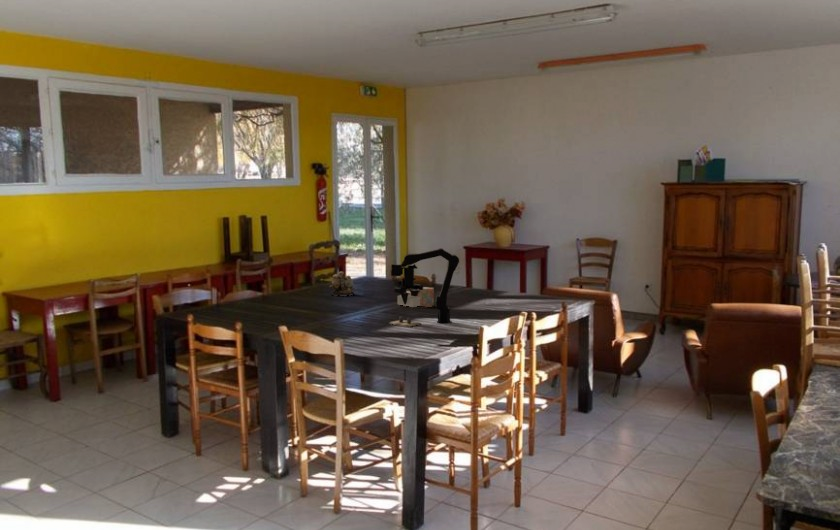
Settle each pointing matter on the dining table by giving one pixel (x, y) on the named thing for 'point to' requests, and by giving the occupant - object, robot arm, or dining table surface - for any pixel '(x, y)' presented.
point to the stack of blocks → (425, 296)
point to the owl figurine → (342, 284)
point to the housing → (409, 301)
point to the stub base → (404, 322)
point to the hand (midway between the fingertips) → (408, 303)
